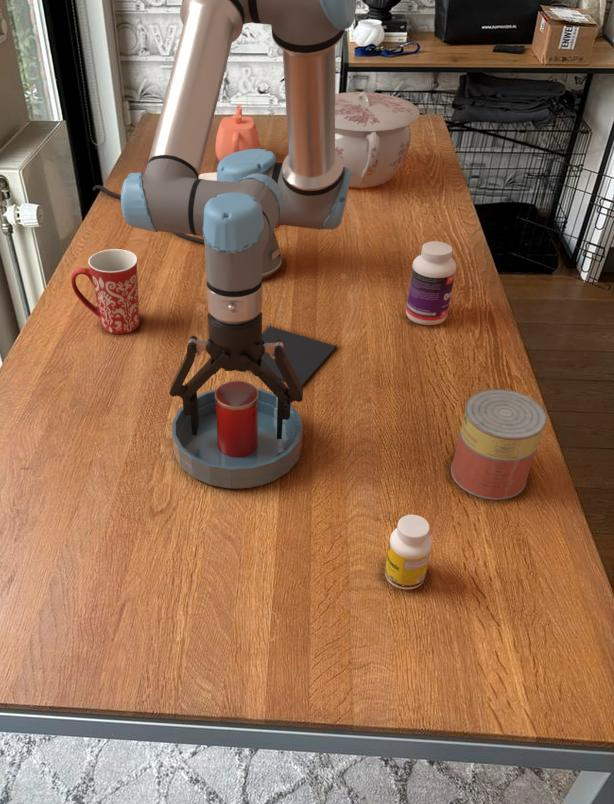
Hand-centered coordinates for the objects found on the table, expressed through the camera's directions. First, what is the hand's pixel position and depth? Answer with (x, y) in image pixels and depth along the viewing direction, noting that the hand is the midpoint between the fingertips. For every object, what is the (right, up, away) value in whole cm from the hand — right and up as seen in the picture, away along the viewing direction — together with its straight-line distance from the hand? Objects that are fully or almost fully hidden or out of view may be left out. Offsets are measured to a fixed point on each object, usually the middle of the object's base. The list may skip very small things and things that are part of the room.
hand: (237, 431), depth 122 cm
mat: (+8, +15, +21) cm, 27 cm away
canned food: (+38, -7, -3) cm, 39 cm away
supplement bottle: (+23, -21, -17) cm, 35 cm away
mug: (-25, +23, +29) cm, 44 cm away
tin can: (0, -2, +2) cm, 3 cm away
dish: (0, -2, +2) cm, 3 cm away
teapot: (-1, +79, +89) cm, 119 cm away
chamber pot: (+30, +71, +80) cm, 111 cm away
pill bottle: (+36, +24, +31) cm, 53 cm away
